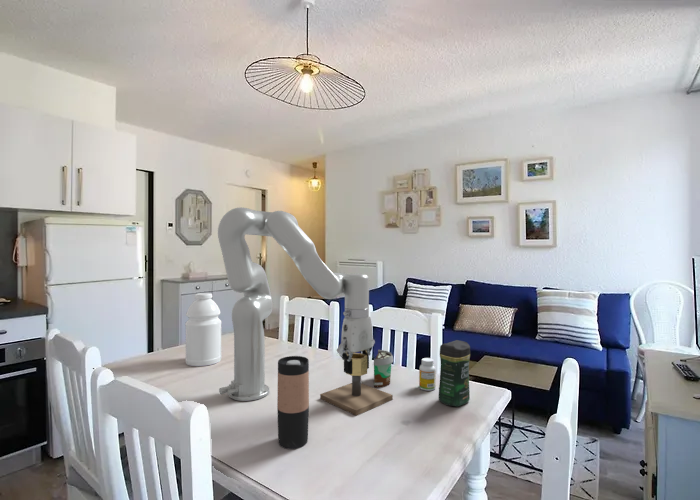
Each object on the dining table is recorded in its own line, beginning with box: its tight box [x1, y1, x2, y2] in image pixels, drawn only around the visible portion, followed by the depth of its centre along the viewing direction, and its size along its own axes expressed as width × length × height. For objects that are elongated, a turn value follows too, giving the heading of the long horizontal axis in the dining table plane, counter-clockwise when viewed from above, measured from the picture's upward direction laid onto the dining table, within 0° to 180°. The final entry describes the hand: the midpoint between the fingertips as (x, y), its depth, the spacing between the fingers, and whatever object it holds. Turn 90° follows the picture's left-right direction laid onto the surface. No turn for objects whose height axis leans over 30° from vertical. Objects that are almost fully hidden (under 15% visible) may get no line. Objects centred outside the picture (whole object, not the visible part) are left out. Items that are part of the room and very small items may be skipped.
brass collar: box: [345, 352, 368, 377], centre depth 117 cm, size 7×7×5 cm
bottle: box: [184, 292, 223, 367], centre depth 154 cm, size 14×14×28 cm
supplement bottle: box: [418, 357, 437, 392], centre depth 127 cm, size 5×5×10 cm
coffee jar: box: [438, 339, 471, 407], centre depth 116 cm, size 10×8×19 cm
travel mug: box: [276, 355, 310, 450], centre depth 92 cm, size 8×8×20 cm
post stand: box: [319, 376, 394, 417], centre depth 117 cm, size 16×16×10 cm
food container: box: [373, 349, 394, 388], centre depth 131 cm, size 12×6×10 cm, turn 168°
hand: (356, 369), depth 117 cm, fingers closed on brass collar, 6 cm apart
